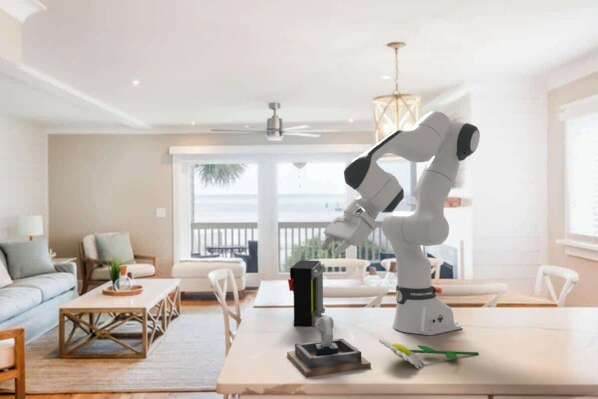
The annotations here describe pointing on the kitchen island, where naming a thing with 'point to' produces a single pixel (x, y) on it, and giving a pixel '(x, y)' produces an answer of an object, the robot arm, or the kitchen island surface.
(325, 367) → the dock
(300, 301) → the electrical component
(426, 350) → the decorative flower
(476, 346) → the kitchen island surface
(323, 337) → the watch
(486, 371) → the kitchen island surface
